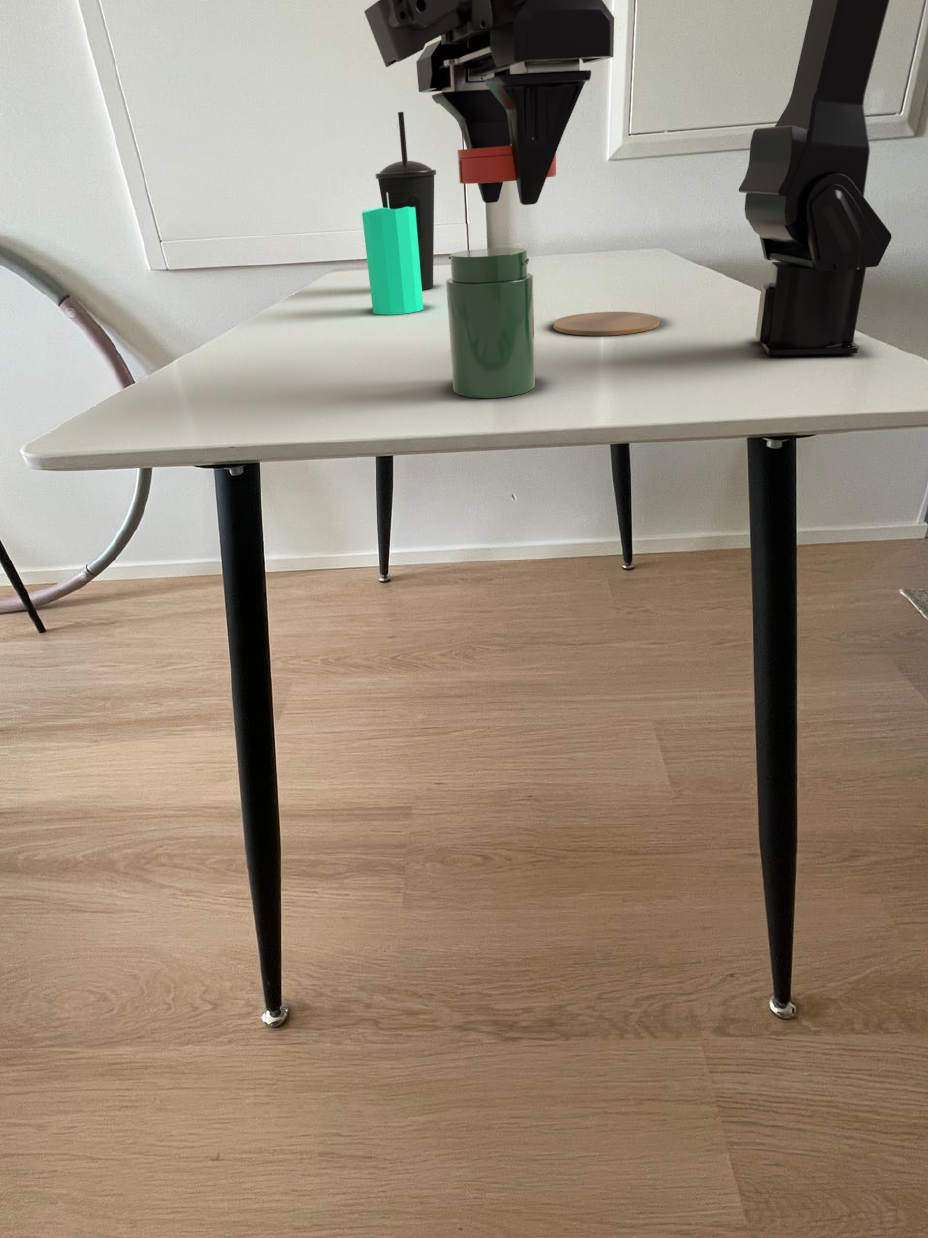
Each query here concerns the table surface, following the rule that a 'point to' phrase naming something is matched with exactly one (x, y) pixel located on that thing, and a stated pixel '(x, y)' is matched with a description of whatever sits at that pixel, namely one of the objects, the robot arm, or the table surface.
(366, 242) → the candle
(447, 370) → the table surface
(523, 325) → the jam jar
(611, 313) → the coaster
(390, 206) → the drinking cup
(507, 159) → the jam lid
